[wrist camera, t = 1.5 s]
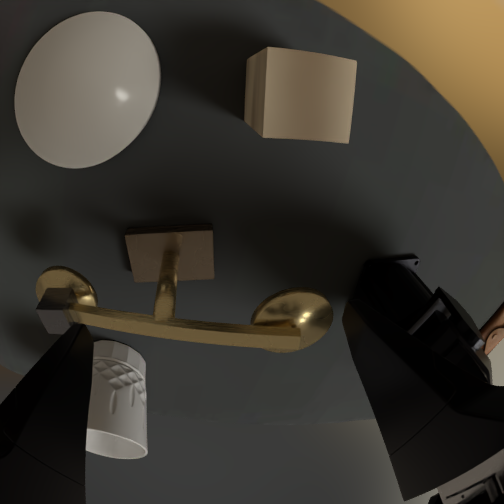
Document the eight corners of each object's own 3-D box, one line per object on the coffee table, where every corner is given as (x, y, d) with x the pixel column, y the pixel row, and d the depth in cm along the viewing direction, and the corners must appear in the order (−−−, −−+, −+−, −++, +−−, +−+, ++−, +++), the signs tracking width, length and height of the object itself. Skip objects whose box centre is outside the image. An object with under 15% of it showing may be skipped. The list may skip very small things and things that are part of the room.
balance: (296, 218, 21) (350, 306, 13) (289, 268, 23) (329, 361, 15) (56, 231, 18) (-1, 317, 10) (71, 278, 20) (33, 369, 13)
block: (310, 65, 15) (356, 61, 10) (306, 124, 17) (348, 143, 12) (246, 59, 14) (267, 47, 9) (244, 120, 16) (262, 137, 11)
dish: (164, 3, 11) (162, -2, 10) (163, 154, 17) (160, 159, 16) (24, 39, 10) (15, 38, 9) (32, 172, 15) (23, 178, 14)
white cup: (77, 327, 23) (52, 418, 15) (154, 344, 26) (149, 440, 17) (84, 371, 27) (70, 447, 19) (148, 384, 29) (146, 463, 21)
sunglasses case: (514, 287, 34) (533, 312, 31) (507, 285, 40) (524, 308, 36) (450, 358, 41) (468, 381, 38) (450, 349, 47) (467, 370, 43)
